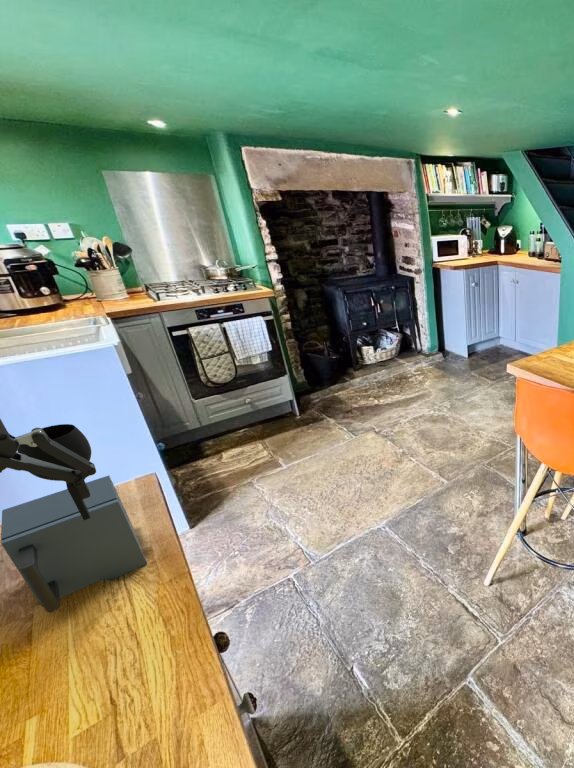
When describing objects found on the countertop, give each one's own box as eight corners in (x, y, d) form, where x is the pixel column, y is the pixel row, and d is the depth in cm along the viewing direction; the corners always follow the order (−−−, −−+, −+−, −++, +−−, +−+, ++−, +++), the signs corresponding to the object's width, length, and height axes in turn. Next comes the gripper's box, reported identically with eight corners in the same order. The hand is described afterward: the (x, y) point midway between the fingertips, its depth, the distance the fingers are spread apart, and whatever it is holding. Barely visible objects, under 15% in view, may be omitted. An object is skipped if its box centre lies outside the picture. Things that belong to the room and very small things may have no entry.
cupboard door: (153, 581, 77) (123, 517, 70) (46, 634, 67) (0, 565, 61) (146, 560, 81) (117, 498, 75) (44, 607, 71) (1, 540, 65)
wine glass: (78, 525, 90) (37, 449, 81) (39, 519, 91) (-5, 444, 83) (125, 495, 99) (93, 424, 91) (90, 490, 100) (55, 420, 92)
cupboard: (146, 560, 81) (116, 497, 75) (44, 607, 72) (0, 539, 65) (137, 535, 87) (109, 475, 81) (42, 575, 78) (1, 510, 71)
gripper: (-247, 469, 42) (-123, 607, 51) (84, 395, 60) (135, 508, 68) (-222, 442, 47) (-112, 574, 55) (79, 381, 64) (127, 489, 73)
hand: (24, 538), depth 62 cm, fingers open, 13 cm apart
